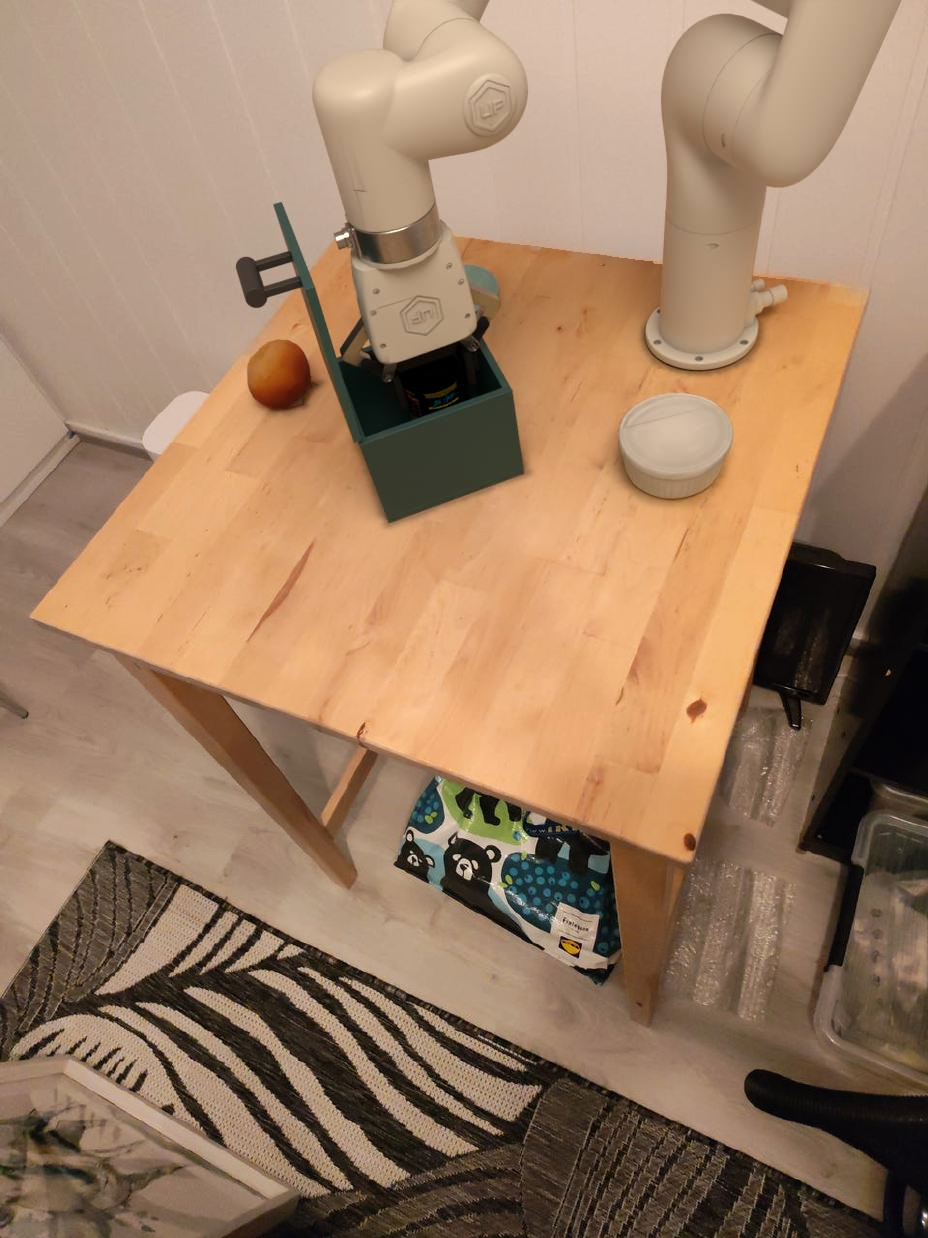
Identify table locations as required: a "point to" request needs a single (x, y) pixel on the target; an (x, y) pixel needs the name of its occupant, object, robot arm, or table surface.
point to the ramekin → (674, 444)
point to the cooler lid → (259, 294)
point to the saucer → (481, 279)
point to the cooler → (435, 440)
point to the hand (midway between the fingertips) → (435, 388)
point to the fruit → (279, 374)
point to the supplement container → (434, 380)
